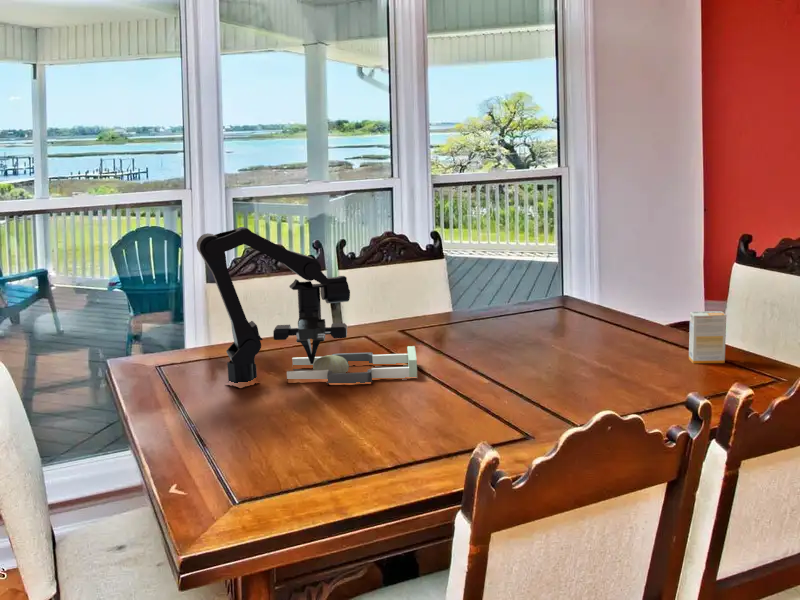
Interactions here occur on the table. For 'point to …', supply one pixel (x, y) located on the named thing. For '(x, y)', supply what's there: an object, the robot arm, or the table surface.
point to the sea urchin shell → (331, 364)
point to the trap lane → (356, 376)
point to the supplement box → (707, 337)
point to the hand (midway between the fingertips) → (312, 363)
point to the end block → (412, 361)
